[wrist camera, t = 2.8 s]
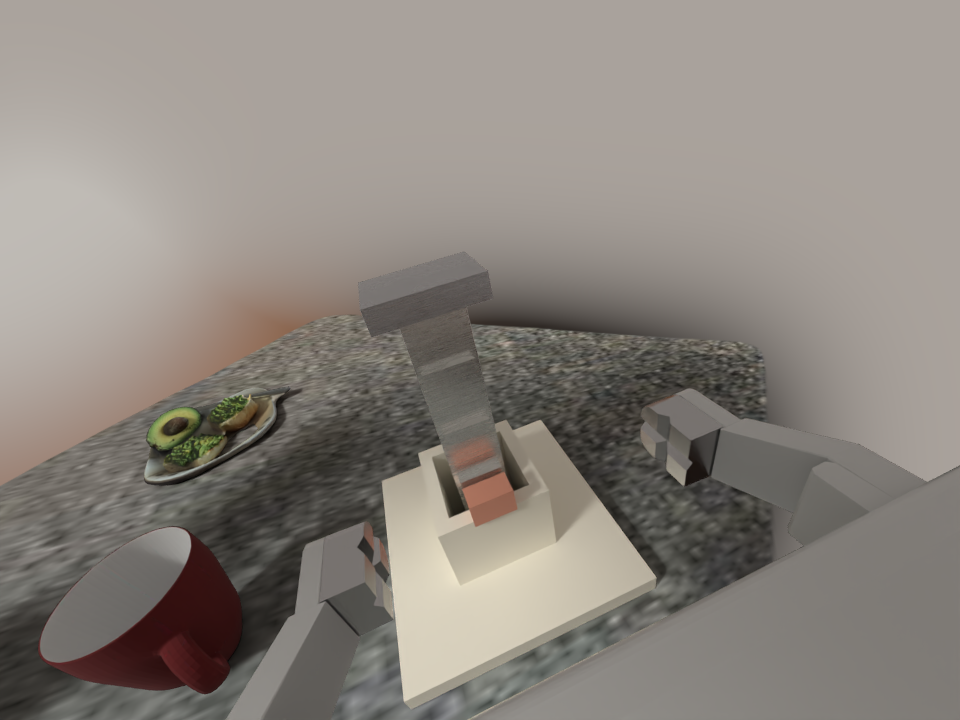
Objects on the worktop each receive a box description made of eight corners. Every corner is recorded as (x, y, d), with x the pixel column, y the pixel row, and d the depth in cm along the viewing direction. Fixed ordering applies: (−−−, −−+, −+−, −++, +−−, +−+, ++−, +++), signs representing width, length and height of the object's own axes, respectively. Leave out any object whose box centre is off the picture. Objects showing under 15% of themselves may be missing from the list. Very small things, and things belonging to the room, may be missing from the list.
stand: (411, 709, 23) (349, 646, 17) (386, 490, 38) (349, 420, 32) (655, 588, 25) (666, 502, 20) (542, 429, 40) (531, 355, 35)
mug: (309, 628, 28) (238, 561, 22) (209, 770, 22) (81, 725, 17) (233, 577, 33) (160, 511, 27) (135, 682, 27) (18, 626, 22)
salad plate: (288, 376, 64) (275, 354, 62) (305, 426, 50) (289, 401, 48) (163, 431, 57) (143, 409, 54) (144, 507, 43) (116, 483, 41)
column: (468, 569, 29) (360, 310, 17) (454, 522, 33) (358, 282, 20) (539, 538, 30) (488, 271, 18) (518, 495, 34) (463, 251, 21)
